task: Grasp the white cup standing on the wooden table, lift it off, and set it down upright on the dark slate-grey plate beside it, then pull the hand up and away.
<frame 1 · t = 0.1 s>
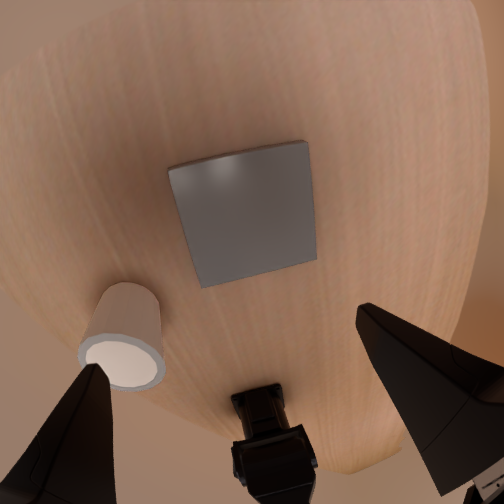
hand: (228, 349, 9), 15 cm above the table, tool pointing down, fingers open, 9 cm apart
white cup: (130, 306, 25), on the table
slate plate: (248, 214, 23), on the table
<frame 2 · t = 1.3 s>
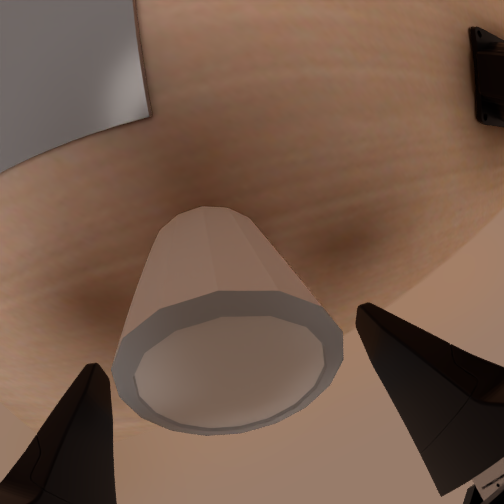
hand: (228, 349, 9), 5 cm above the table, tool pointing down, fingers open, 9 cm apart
white cup: (209, 260, 14), on the table
slate plate: (26, 47, 7), on the table
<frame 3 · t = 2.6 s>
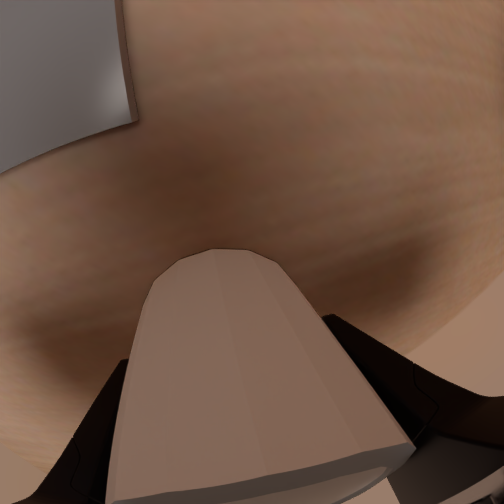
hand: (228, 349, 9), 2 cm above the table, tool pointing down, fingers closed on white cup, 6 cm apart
white cup: (221, 314, 11), on the table, touching gripper
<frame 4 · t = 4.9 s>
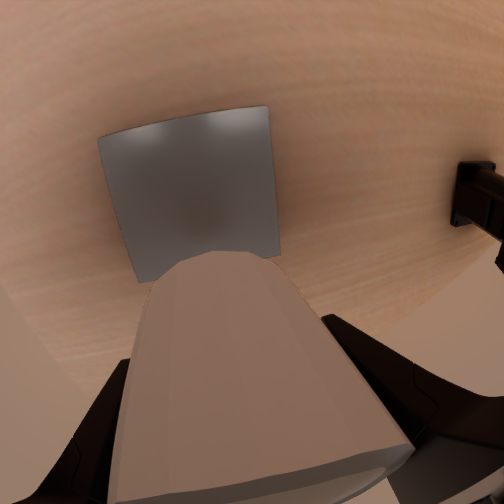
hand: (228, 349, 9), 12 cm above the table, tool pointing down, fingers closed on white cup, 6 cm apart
white cup: (221, 316, 11), point 10 cm above the table, touching gripper
slate plate: (194, 194, 18), on the table
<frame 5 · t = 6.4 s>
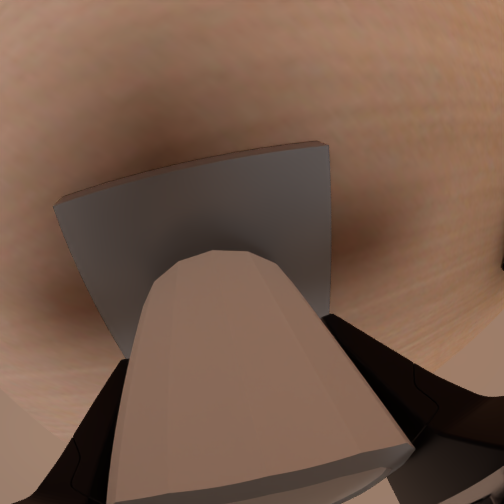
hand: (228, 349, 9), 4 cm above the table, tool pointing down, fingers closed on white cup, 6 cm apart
white cup: (221, 315, 11), point 2 cm above the table, touching gripper
slate plate: (211, 277, 13), on the table
when the fingers open (4 cm above the table, at t = 7.3 s): white cup drops 1 cm, resting on slate plate.
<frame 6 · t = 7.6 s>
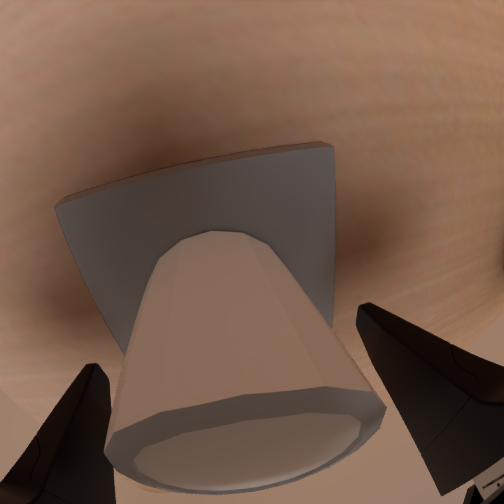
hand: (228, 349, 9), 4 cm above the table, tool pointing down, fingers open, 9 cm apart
white cup: (218, 292, 12), point 1 cm above the table, touching slate plate
slate plate: (214, 279, 12), on the table
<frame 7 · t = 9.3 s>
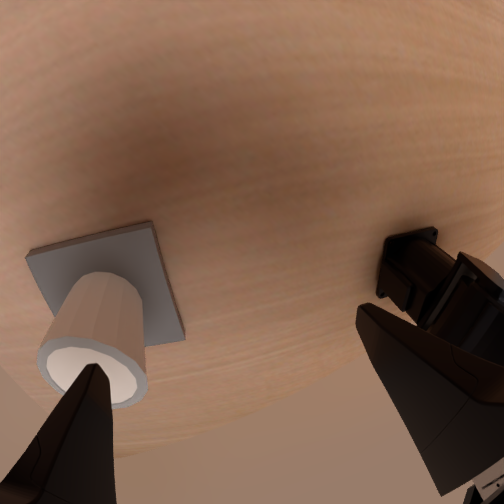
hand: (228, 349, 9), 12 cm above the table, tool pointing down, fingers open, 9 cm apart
white cup: (106, 302, 20), point 1 cm above the table, touching slate plate
slate plate: (107, 295, 20), on the table
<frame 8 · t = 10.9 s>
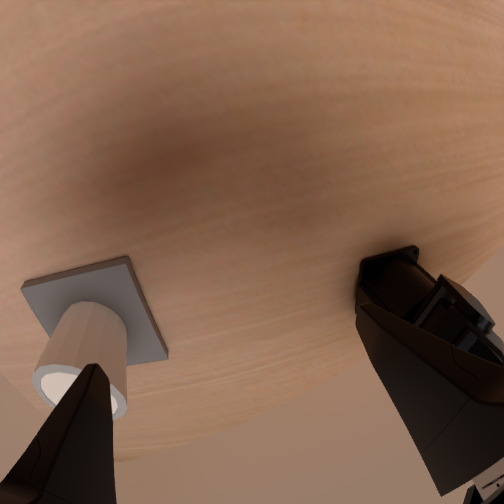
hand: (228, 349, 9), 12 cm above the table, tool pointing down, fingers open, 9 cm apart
white cup: (94, 326, 21), point 1 cm above the table, touching slate plate
slate plate: (95, 319, 22), on the table
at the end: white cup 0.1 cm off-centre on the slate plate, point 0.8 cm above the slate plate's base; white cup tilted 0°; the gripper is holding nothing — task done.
